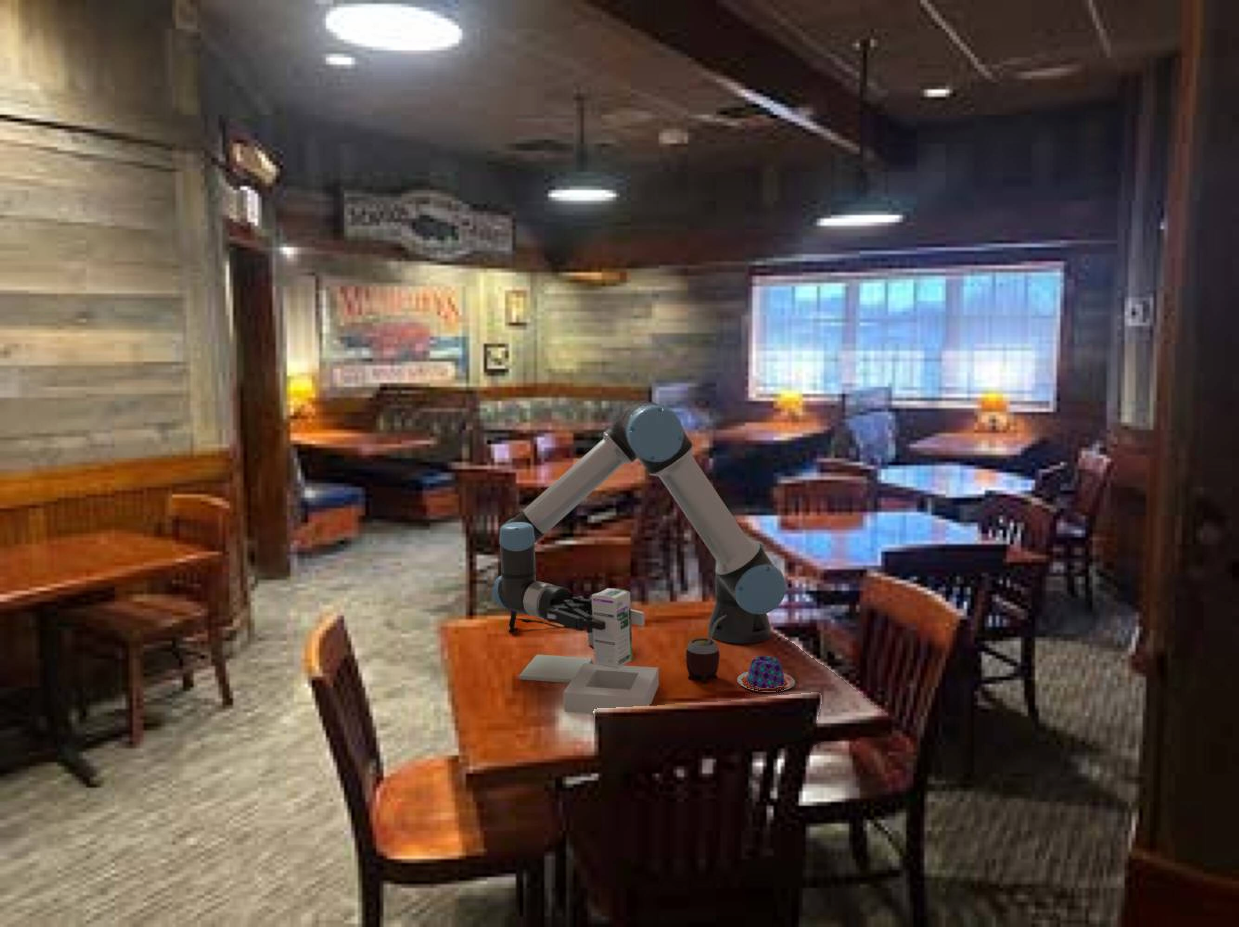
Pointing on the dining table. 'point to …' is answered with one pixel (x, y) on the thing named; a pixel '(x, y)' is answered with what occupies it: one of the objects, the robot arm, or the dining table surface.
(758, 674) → the pudding
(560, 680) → the sage tile
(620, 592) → the syrup box
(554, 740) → the dining table surface
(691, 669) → the mate gourd
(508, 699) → the dining table surface
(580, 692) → the bore block
